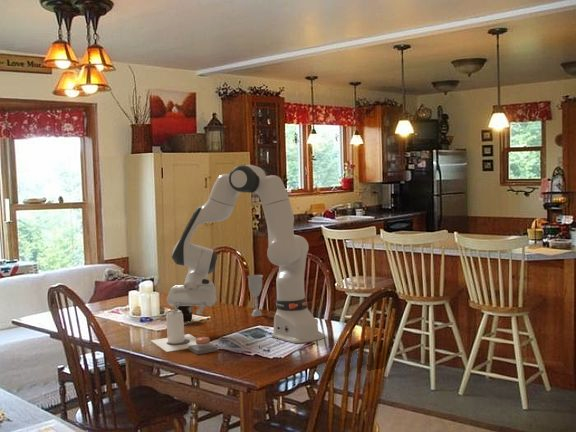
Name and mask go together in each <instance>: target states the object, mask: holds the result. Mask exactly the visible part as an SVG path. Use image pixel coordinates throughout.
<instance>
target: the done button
mask: <svg viewBox="0 0 576 432" xmlns="http://www.w3.org/2000/svg"><path fill="white" fill-rule="evenodd" d="M195 338H196V344H207V343H209V342H210V343H211V340H210V337H209V336H200V337H195Z"/></svg>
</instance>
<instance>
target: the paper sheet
mask: <svg viewBox="0 0 576 432" xmlns="http://www.w3.org/2000/svg"><path fill="white" fill-rule="evenodd" d="M196 338H197V337H195V336H193V335H192V334H190V333H187V334H184V339H185V340H184V342H183V343H179V344H170V343H168V337H165V338H164V337H163V338H158V339H151V340H150V342H151V343H152V344H154V345H156V346H157V347H158V348H160V349H161V350H162V351H164V352H165V353H171V352H176V351H183V350H187V349H188V350H189V346H191V345H197V344H196Z"/></svg>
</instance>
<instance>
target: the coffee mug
mask: <svg viewBox="0 0 576 432" xmlns="http://www.w3.org/2000/svg"><path fill="white" fill-rule="evenodd" d="M193 307H194V306H178V308H177V309H179V310H181V311H182V314H183V321H184V323H189V322H192V321H191V320H193V310H194V308H193ZM188 321H189V322H188Z"/></svg>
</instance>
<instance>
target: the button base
mask: <svg viewBox="0 0 576 432" xmlns="http://www.w3.org/2000/svg"><path fill="white" fill-rule="evenodd" d="M188 350H189V351H190V352H191V353H194V354H195V355H198V356H199V355H202V354H207V353H212V352H218V346H216V345H214V344H213V343H211V341H210V342H209V343H207V344H197V345H191V346H189V348H188Z"/></svg>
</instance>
